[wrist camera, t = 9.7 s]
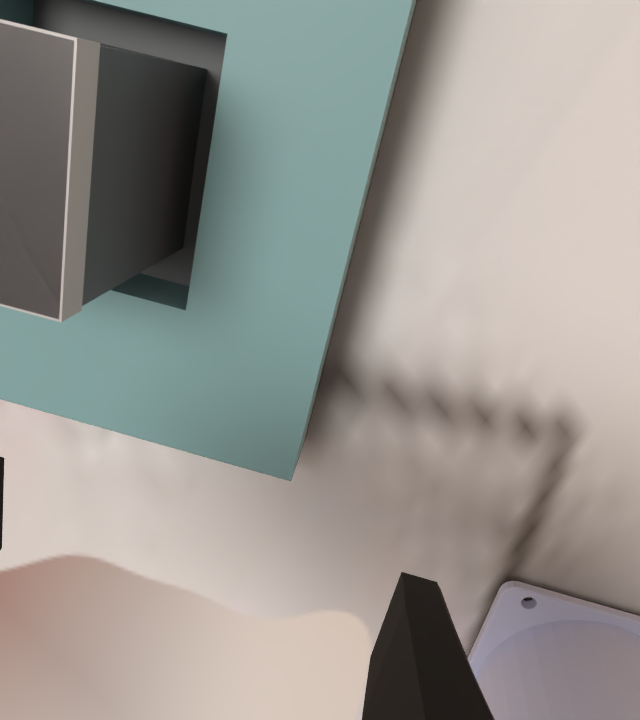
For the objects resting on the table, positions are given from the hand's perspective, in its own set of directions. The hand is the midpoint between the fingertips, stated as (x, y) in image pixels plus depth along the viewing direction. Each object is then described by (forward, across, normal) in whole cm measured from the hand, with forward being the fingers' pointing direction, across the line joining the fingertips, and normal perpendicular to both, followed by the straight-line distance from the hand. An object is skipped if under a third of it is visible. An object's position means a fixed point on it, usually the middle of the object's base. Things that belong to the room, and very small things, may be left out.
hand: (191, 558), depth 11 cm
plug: (+9, +6, -5) cm, 12 cm away
